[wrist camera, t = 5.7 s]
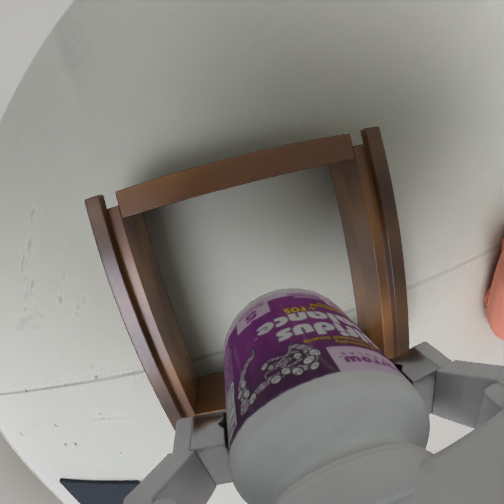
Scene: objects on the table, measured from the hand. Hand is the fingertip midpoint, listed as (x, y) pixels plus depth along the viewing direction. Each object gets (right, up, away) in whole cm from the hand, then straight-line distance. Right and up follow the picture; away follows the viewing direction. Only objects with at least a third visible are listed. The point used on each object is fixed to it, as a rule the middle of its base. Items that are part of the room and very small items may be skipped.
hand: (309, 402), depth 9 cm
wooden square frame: (-1, +3, +15) cm, 15 cm away
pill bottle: (0, +1, +4) cm, 4 cm away
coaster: (-19, -28, +19) cm, 39 cm away
